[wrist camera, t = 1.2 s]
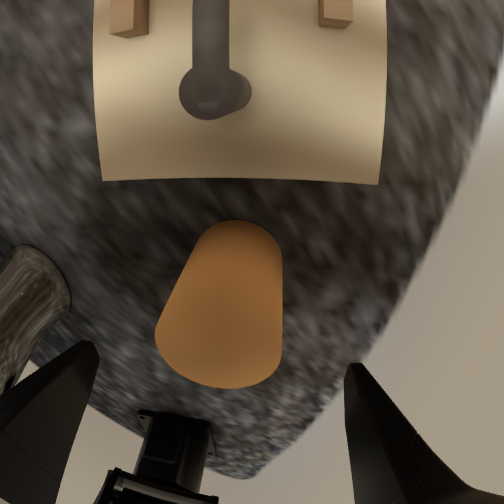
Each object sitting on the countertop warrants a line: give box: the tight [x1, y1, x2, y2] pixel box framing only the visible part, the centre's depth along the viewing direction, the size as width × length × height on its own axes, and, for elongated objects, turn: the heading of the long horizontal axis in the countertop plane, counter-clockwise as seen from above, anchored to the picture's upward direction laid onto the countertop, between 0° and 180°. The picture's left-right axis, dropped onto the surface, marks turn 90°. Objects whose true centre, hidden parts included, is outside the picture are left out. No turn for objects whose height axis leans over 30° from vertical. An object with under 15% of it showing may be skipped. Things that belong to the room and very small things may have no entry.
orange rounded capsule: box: [155, 220, 282, 389], centre depth 13 cm, size 4×4×6 cm
